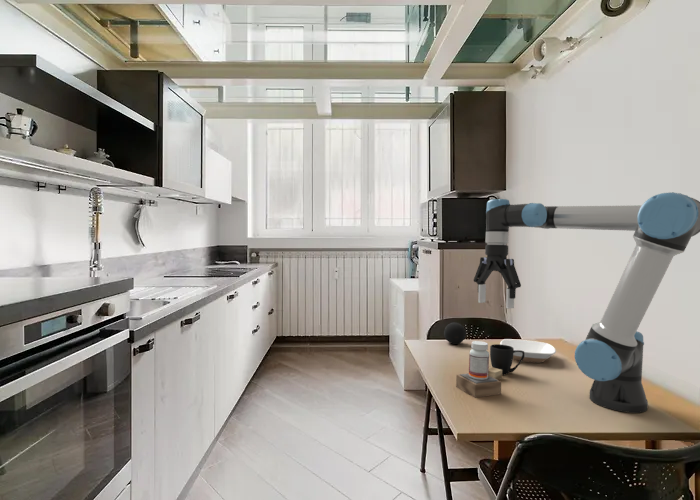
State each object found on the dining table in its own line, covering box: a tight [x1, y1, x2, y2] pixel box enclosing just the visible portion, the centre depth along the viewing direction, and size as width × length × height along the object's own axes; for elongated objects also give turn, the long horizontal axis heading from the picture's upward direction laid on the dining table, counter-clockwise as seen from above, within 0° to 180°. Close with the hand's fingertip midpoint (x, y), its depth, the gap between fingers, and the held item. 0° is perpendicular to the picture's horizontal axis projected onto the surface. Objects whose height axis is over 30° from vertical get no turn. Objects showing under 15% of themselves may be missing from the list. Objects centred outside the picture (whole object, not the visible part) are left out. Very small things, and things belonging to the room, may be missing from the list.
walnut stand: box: [455, 372, 502, 398], centre depth 138 cm, size 10×10×4 cm
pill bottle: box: [468, 340, 490, 380], centre depth 138 cm, size 6×6×11 cm
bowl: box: [499, 338, 557, 364], centre depth 179 cm, size 22×22×5 cm
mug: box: [489, 343, 525, 376], centre depth 157 cm, size 8×12×10 cm
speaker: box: [443, 321, 467, 345], centre depth 200 cm, size 10×10×10 cm
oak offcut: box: [488, 366, 503, 380], centre depth 151 cm, size 5×5×3 cm
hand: (495, 305), depth 147 cm, fingers open, 13 cm apart
